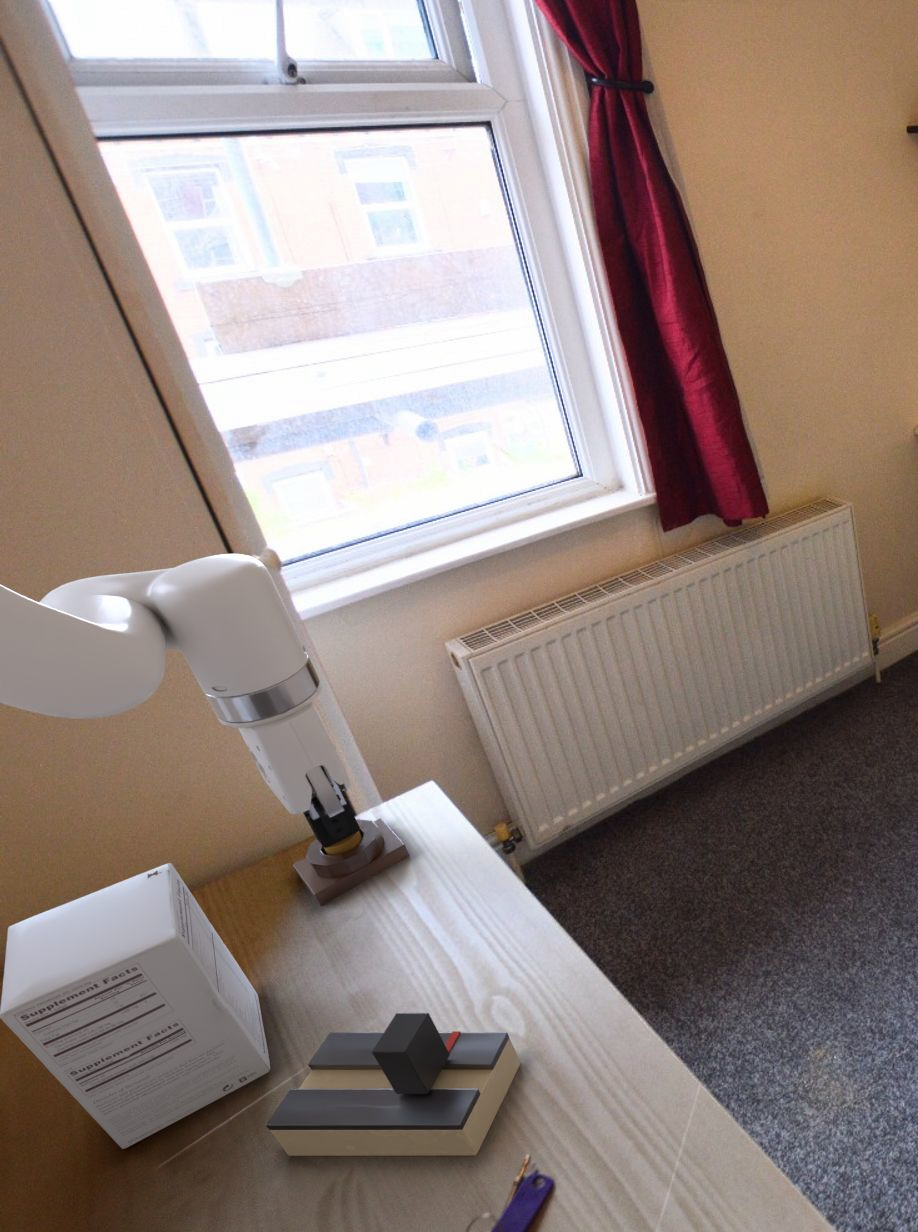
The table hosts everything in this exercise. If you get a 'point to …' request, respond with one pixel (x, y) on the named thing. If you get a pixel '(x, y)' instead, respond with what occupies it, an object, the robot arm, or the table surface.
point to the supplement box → (134, 1004)
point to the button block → (350, 861)
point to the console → (395, 1100)
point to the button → (344, 844)
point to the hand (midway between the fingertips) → (339, 835)
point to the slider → (411, 1053)
